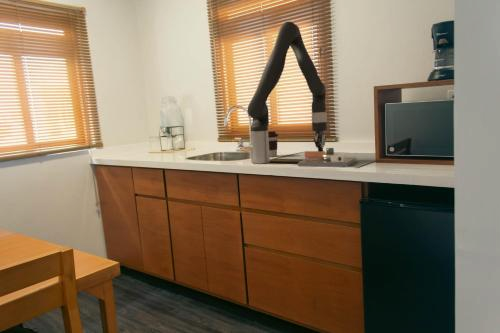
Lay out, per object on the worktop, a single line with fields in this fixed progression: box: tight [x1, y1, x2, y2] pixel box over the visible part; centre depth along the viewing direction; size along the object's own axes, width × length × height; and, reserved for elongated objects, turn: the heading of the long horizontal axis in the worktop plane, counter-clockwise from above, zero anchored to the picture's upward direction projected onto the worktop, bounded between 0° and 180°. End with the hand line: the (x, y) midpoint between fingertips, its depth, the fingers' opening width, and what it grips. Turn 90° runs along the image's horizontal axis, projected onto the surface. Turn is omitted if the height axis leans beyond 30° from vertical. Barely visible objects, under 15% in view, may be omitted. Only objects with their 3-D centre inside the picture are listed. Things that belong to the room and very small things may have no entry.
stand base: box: [297, 154, 357, 168], centre depth 194 cm, size 24×17×5 cm
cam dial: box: [304, 147, 340, 160], centre depth 197 cm, size 17×8×5 cm, turn 61°
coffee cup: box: [268, 130, 279, 158], centre depth 238 cm, size 10×10×15 cm
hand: (320, 155), depth 204 cm, fingers closed
